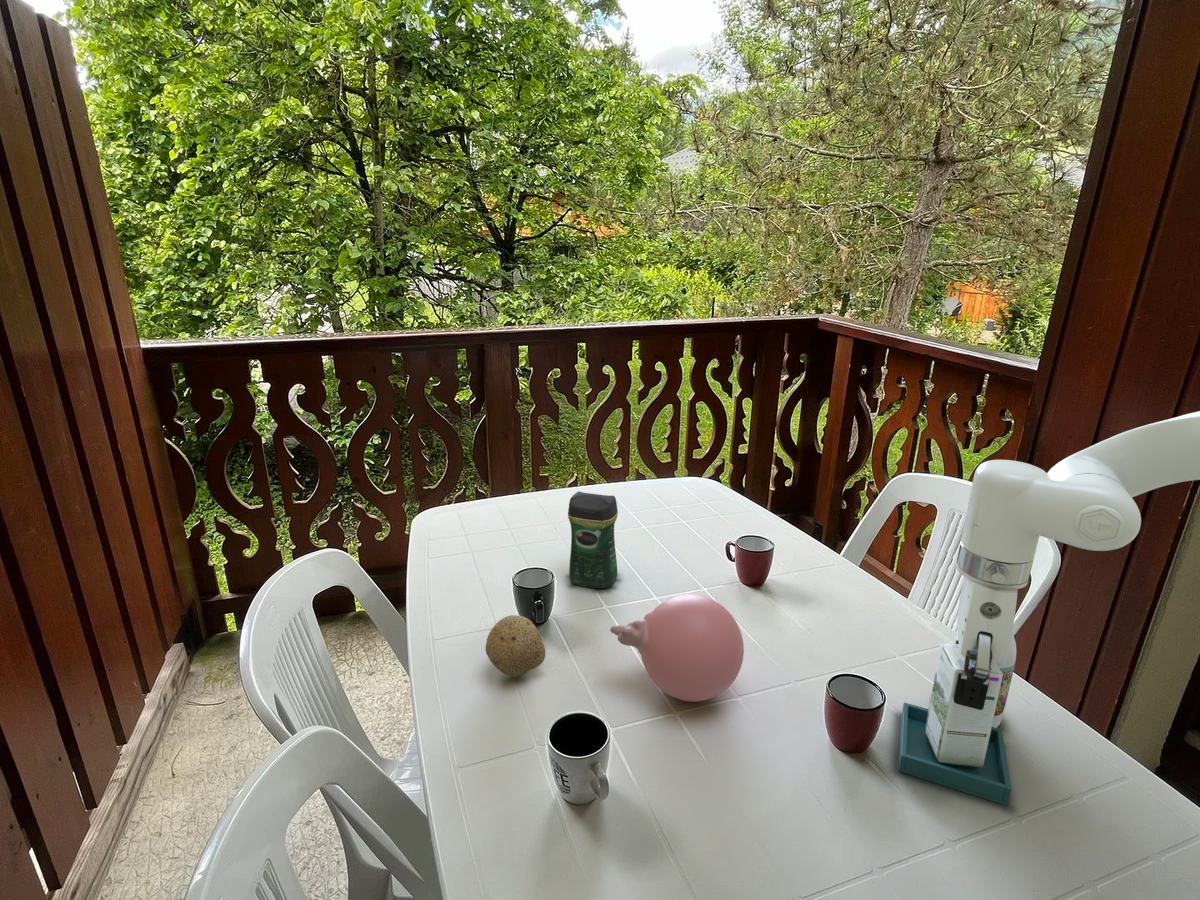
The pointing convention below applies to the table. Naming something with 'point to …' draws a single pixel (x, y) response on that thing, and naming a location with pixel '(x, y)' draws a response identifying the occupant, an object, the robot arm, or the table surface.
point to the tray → (968, 779)
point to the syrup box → (959, 712)
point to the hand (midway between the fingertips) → (966, 685)
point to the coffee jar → (592, 539)
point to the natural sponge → (515, 646)
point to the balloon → (687, 646)
